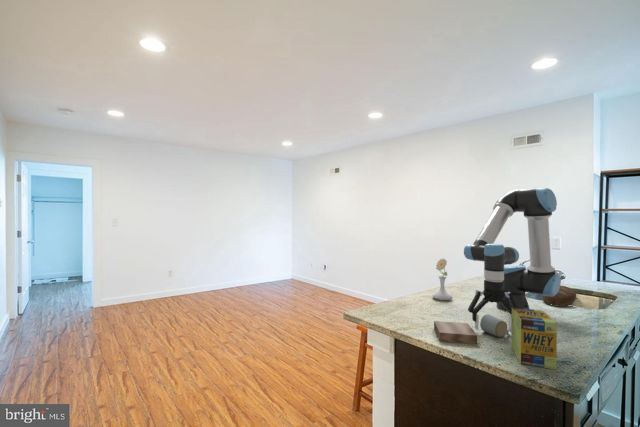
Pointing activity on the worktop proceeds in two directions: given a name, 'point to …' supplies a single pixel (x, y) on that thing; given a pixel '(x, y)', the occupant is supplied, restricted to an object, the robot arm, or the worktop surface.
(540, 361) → the protein box
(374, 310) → the worktop surface
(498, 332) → the ceramic mug
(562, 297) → the bread
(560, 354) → the worktop surface
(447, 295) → the flower in vase
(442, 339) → the walnut stand
